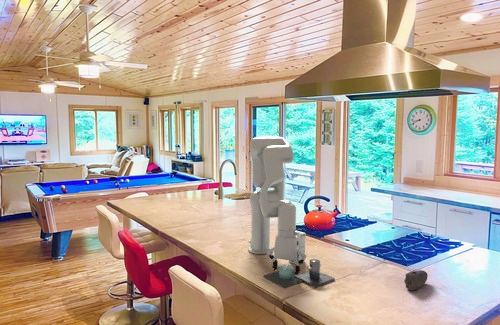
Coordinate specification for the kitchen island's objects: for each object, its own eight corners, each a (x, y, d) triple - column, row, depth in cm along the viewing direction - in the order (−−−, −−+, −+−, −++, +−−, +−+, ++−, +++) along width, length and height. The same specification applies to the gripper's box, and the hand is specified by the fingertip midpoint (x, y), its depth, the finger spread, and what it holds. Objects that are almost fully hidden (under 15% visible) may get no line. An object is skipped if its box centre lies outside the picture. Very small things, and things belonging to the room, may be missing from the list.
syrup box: (288, 261, 178) (288, 232, 177) (295, 258, 183) (296, 230, 181) (297, 265, 174) (298, 235, 173) (305, 261, 179) (305, 232, 177)
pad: (263, 276, 161) (263, 275, 161) (287, 269, 169) (287, 268, 169) (284, 288, 150) (284, 286, 150) (309, 279, 158) (309, 278, 158)
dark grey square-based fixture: (294, 277, 160) (294, 259, 159) (313, 271, 167) (314, 254, 166) (315, 287, 150) (315, 268, 149) (334, 280, 157) (335, 262, 157)
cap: (281, 273, 163) (281, 262, 163) (294, 275, 161) (294, 264, 161) (277, 278, 158) (277, 267, 157) (290, 280, 156) (290, 269, 155)
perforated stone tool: (420, 280, 158) (421, 264, 157) (432, 284, 154) (433, 268, 153) (400, 289, 149) (400, 272, 149) (412, 294, 145) (413, 277, 144)
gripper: (308, 232, 158) (308, 271, 159) (270, 228, 164) (270, 265, 166) (304, 237, 151) (303, 278, 153) (264, 232, 158) (264, 271, 159)
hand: (286, 271), depth 159 cm, fingers open, 9 cm apart
